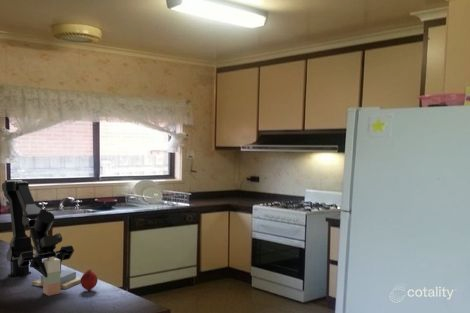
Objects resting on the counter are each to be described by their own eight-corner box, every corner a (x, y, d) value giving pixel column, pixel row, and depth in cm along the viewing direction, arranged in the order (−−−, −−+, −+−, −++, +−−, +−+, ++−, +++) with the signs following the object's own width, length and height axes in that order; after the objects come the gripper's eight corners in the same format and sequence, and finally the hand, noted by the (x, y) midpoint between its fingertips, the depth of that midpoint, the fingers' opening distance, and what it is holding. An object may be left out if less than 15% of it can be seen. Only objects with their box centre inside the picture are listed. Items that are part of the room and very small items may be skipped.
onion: (92, 293, 167) (92, 271, 166) (77, 292, 168) (77, 270, 168) (100, 288, 172) (100, 267, 172) (85, 288, 173) (85, 266, 173)
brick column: (43, 292, 167) (43, 257, 167) (55, 290, 170) (55, 255, 170) (48, 295, 164) (47, 259, 164) (60, 293, 167) (60, 257, 167)
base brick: (40, 281, 177) (40, 275, 177) (56, 275, 185) (56, 269, 185) (60, 284, 174) (60, 277, 174) (76, 277, 182) (75, 271, 182)
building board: (32, 285, 177) (32, 281, 177) (52, 277, 187) (52, 274, 187) (65, 288, 172) (65, 285, 172) (84, 280, 182) (84, 277, 182)
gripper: (20, 229, 163) (32, 267, 155) (71, 223, 176) (85, 258, 168) (12, 248, 169) (23, 285, 161) (63, 241, 182) (75, 275, 174)
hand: (53, 275), depth 166 cm, fingers closed on brick column, 4 cm apart
